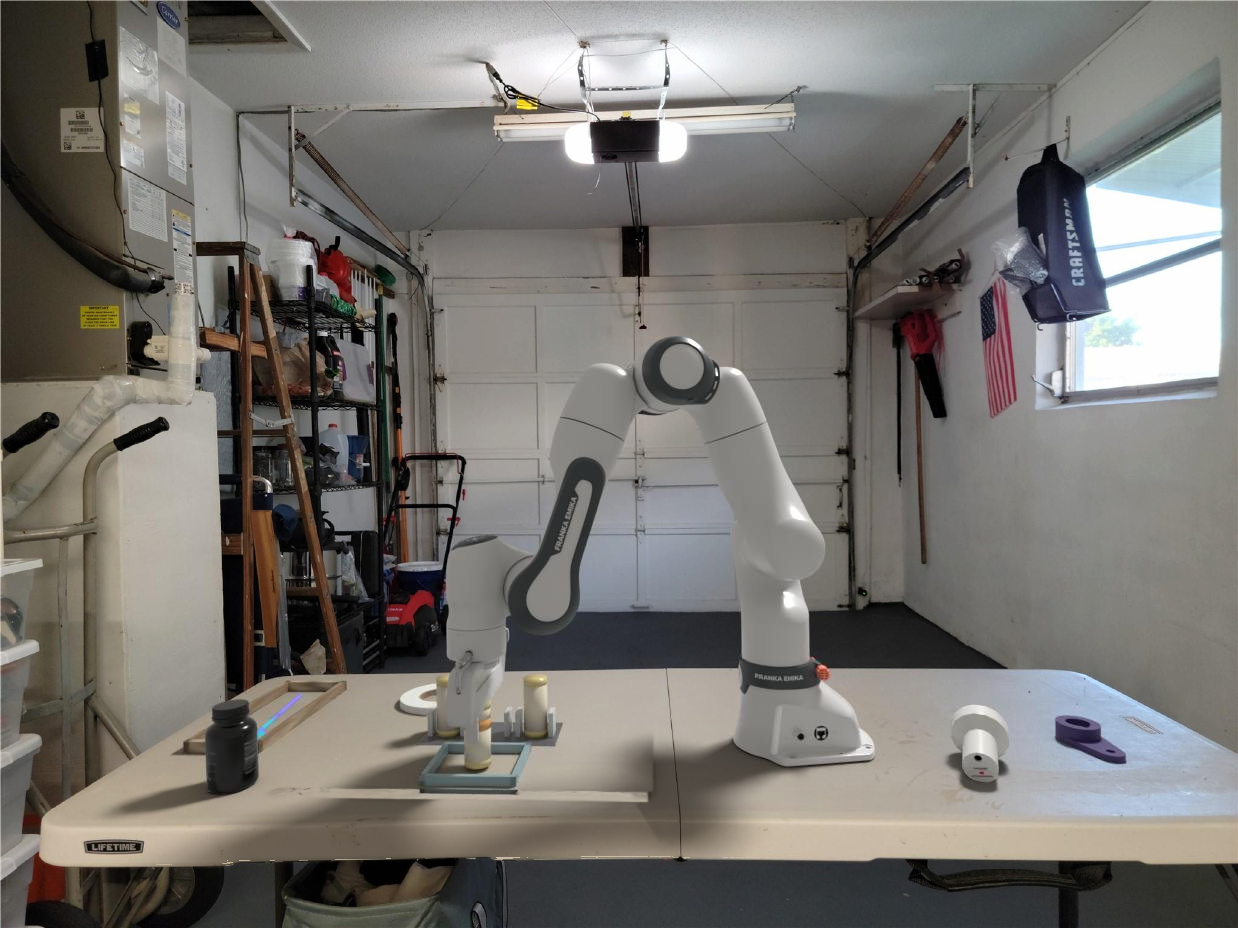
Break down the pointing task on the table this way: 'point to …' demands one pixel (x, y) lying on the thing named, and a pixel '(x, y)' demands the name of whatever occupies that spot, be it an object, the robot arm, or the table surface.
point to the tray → (474, 779)
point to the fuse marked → (480, 743)
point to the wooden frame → (333, 690)
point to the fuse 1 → (443, 709)
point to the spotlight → (980, 740)
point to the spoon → (277, 716)
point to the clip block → (498, 730)
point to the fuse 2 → (535, 706)
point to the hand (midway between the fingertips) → (478, 734)
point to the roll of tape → (418, 700)
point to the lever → (1087, 738)
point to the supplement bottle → (231, 748)
